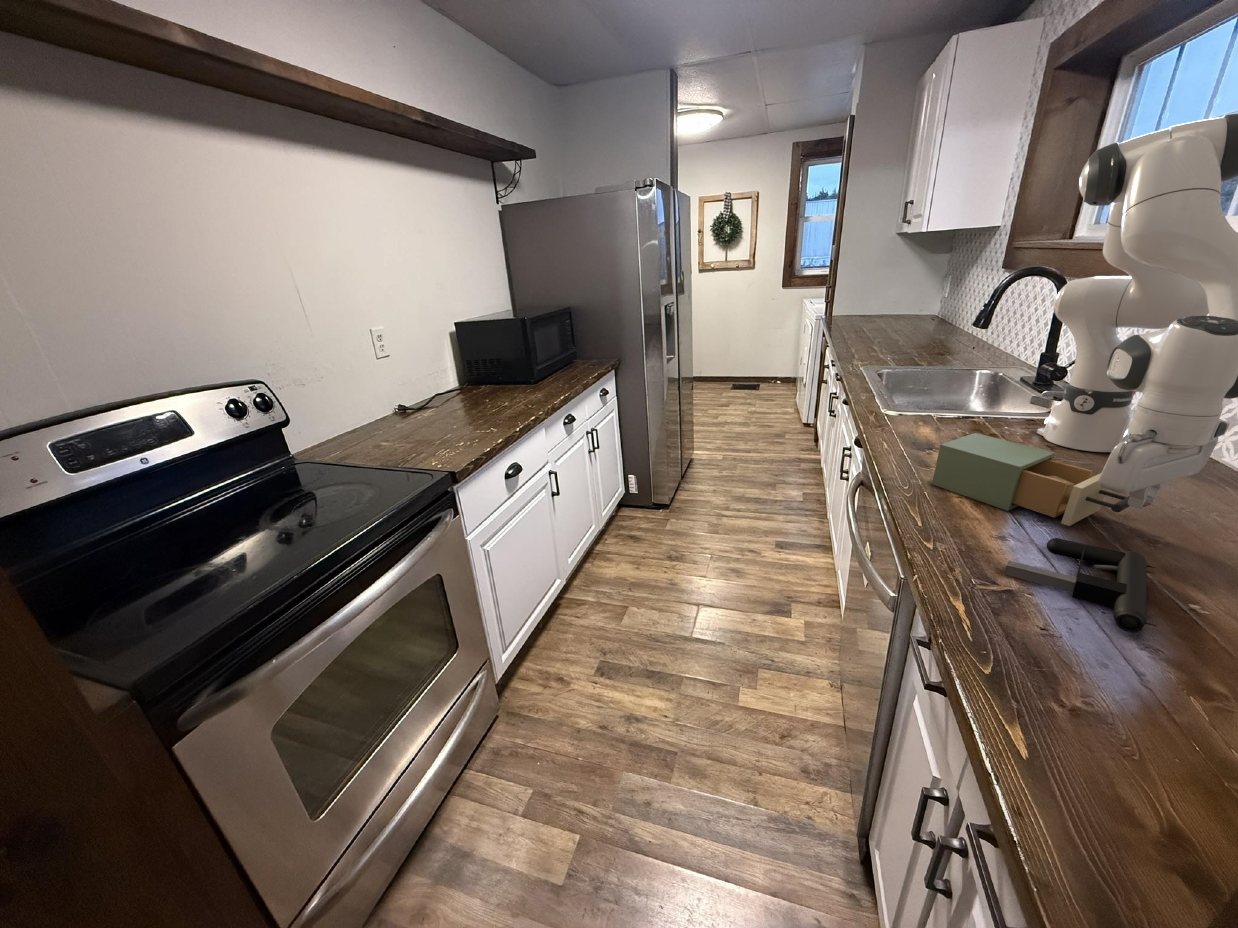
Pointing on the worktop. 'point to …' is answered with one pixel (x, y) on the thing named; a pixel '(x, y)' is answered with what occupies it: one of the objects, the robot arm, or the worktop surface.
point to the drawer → (1063, 491)
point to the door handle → (1097, 580)
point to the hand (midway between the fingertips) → (1138, 505)
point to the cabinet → (985, 468)
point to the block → (1067, 491)
